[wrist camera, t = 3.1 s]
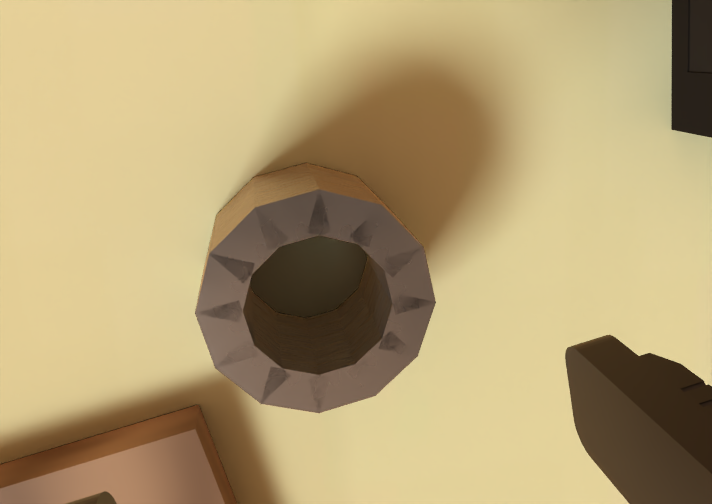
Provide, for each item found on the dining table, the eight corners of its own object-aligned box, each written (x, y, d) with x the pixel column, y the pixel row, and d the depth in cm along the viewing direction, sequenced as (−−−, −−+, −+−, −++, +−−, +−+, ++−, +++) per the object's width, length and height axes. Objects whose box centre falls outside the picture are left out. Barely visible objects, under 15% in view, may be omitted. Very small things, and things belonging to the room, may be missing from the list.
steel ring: (376, 143, 20) (405, 164, 16) (416, 317, 22) (451, 372, 19) (180, 196, 20) (165, 232, 16) (241, 370, 22) (240, 437, 18)
